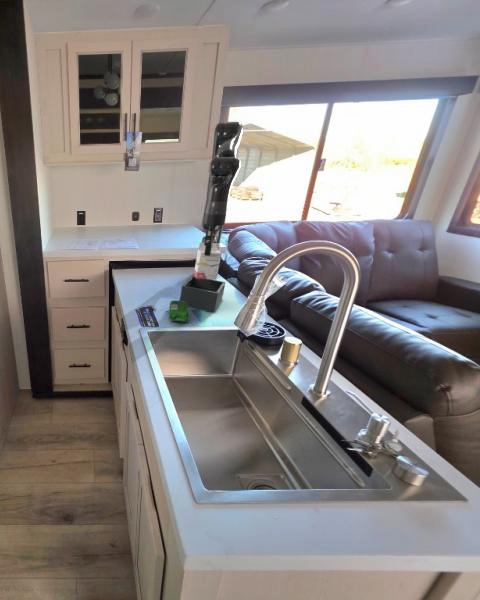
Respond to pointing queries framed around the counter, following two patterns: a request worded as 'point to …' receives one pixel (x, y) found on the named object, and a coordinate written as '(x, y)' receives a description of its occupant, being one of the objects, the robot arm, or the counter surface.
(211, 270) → the ink cartridge box
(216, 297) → the waste bin
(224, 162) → the robot arm
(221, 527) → the counter surface
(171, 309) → the snack package
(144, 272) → the counter surface
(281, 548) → the counter surface
